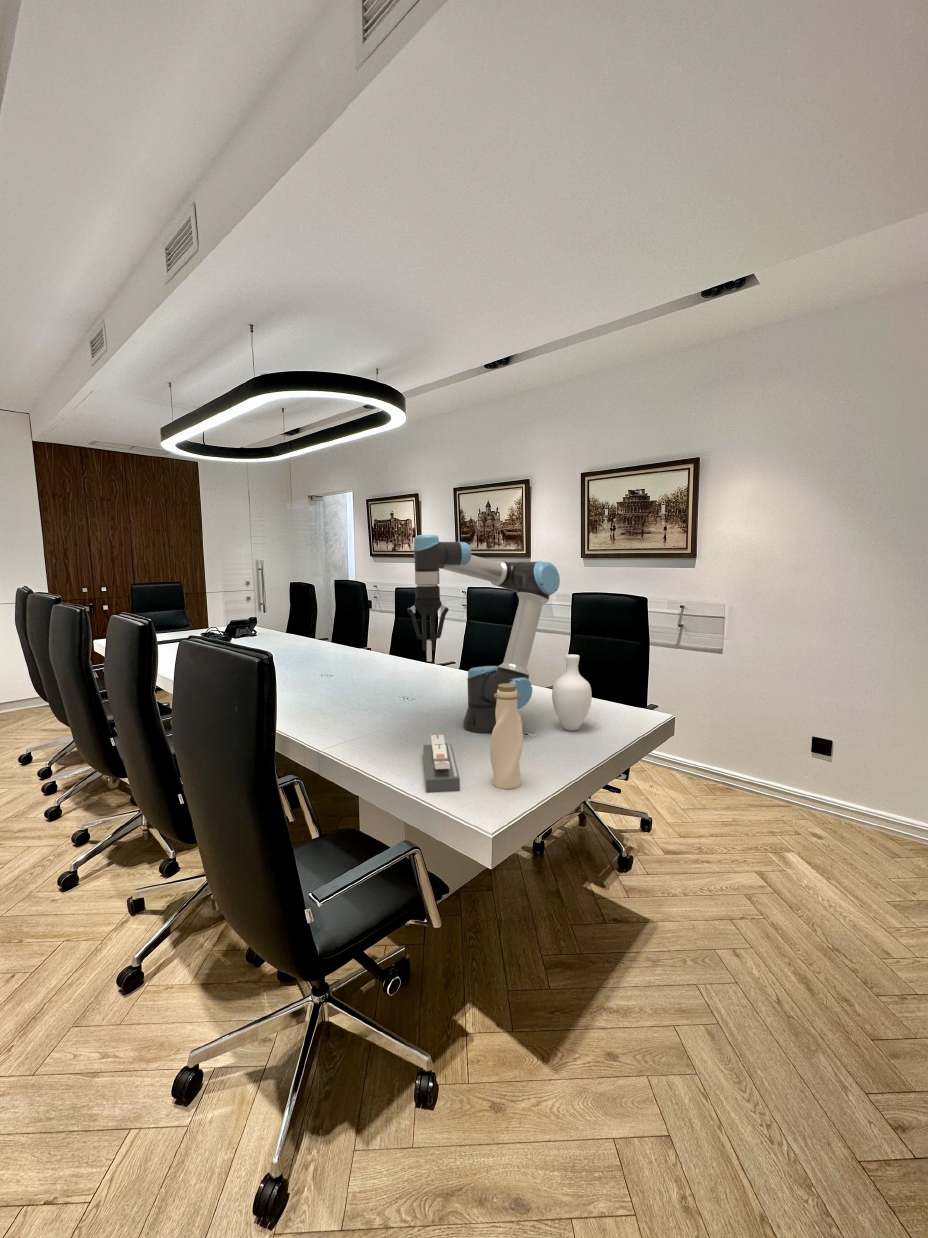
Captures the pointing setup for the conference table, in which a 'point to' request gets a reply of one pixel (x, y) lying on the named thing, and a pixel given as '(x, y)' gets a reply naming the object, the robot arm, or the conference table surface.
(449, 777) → the power strip
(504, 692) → the water bottle
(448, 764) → the rocker
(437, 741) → the rocker
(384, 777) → the conference table surface
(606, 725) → the conference table surface
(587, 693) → the vase
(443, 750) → the rocker
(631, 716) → the conference table surface
